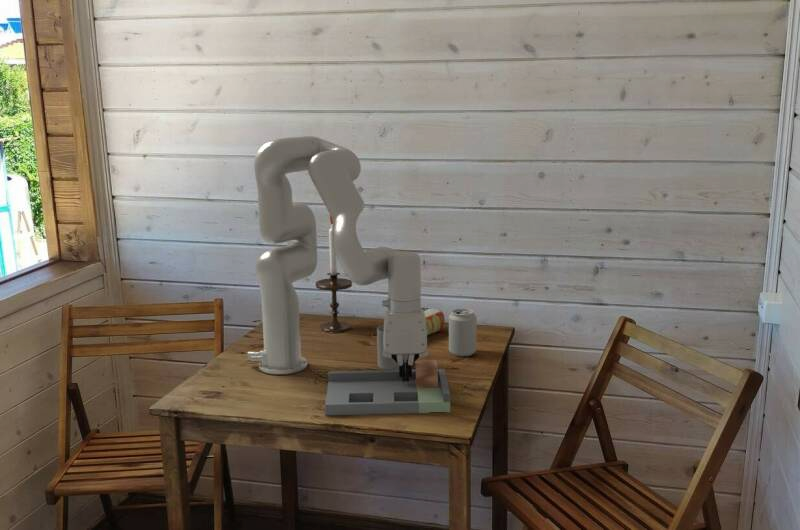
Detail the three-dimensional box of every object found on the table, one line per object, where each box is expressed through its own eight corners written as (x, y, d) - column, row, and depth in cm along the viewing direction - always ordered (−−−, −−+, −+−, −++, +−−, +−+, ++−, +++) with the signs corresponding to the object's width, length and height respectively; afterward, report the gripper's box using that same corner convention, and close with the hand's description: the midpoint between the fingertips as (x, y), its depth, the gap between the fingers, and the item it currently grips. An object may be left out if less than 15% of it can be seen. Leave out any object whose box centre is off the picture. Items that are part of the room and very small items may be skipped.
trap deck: (325, 415, 182) (324, 396, 181) (329, 388, 197) (328, 371, 196) (450, 412, 182) (450, 393, 181) (444, 386, 198) (444, 368, 197)
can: (459, 347, 227) (459, 305, 224) (481, 352, 222) (482, 310, 220) (443, 354, 221) (443, 311, 219) (465, 359, 217) (466, 316, 214)
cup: (406, 371, 209) (405, 333, 207) (374, 369, 210) (374, 332, 208) (412, 360, 217) (411, 324, 215) (382, 358, 218) (381, 322, 216)
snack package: (399, 349, 226) (399, 326, 224) (381, 345, 230) (381, 322, 229) (445, 331, 242) (445, 310, 240) (428, 327, 246) (428, 306, 244)
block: (416, 388, 190) (416, 368, 189) (415, 380, 195) (415, 360, 194) (437, 387, 190) (437, 367, 189) (436, 380, 195) (436, 360, 194)
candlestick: (332, 336, 238) (328, 218, 230) (310, 328, 246) (305, 214, 238) (360, 328, 245) (357, 214, 237) (338, 321, 253) (334, 210, 245)
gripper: (372, 310, 184) (373, 386, 188) (437, 308, 185) (438, 384, 189) (372, 301, 192) (374, 374, 196) (435, 300, 192) (436, 373, 196)
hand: (405, 379), depth 192 cm, fingers closed
